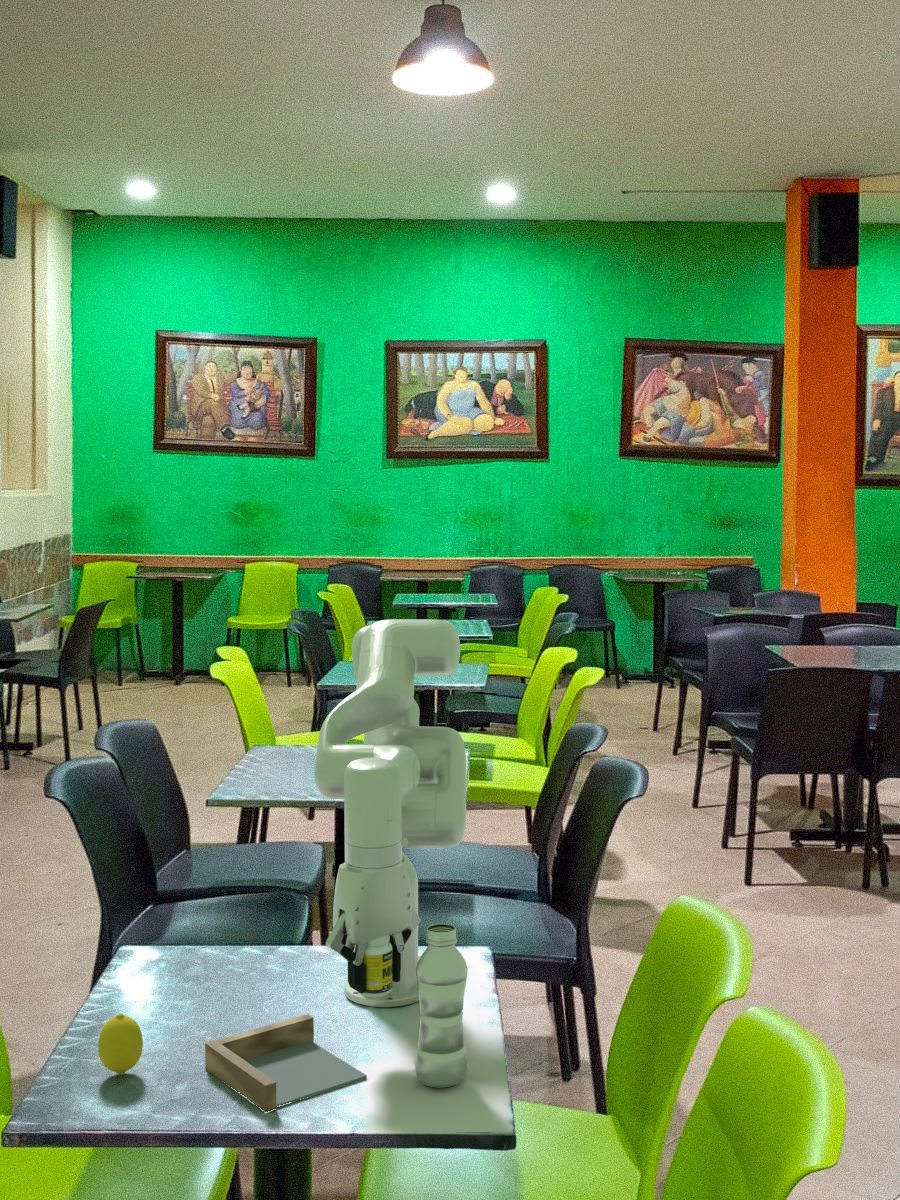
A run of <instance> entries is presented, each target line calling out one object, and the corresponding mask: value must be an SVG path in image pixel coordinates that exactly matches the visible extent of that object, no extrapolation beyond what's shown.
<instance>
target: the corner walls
mask: <svg viewBox="0 0 900 1200" xmlns="http://www.w3.org/2000/svg"><path fill="white" fill-rule="evenodd" d="M314 1022H315V1021H314V1017H313V1016H311V1015H310V1014H303V1015H300V1016H296V1017H292V1018H289V1019H286V1020H282V1021H279V1022H276V1023H271V1024H268V1025H263V1026H261V1027H258V1028H253V1029H250V1030H248V1031H247V1030H246V1031H244V1032H240V1033H236V1034H233V1035H229V1036H225V1037H223V1038H219V1039H215V1040H211V1041H208V1042H205V1043H204V1047H205V1048H204V1049H205V1052H204V1054H205V1055H204V1056H205V1066H204V1067H205V1071H207V1070H208V1071H209V1072H208V1071H207V1072H208V1073H210V1074H211V1073H212V1074H213V1075H212V1074H211V1075H212V1076H214V1075H215V1076H216V1077H217V1078H216V1077H215V1076H214V1077H215V1078H216V1079H218V1078H219V1079H220V1080H221V1082H222V1081H223V1082H225V1083H226V1084H227V1085H229V1086H230V1087H232V1088H233V1089H235V1090H236V1091H237V1092H240V1094H242V1095H244V1096H245V1097H247V1099H249V1100H250V1101H251V1102H253V1103H254V1104H255V1105H257V1106H258V1107H260V1108H261V1109H262V1110H264V1111H265V1112H268V1111H271V1110H273V1109H278V1108H277V1104H276V1082H275V1081H274V1080H272V1079H271V1078H269V1077H268V1076H267V1075H265V1074H264V1073H262V1072H261V1071H259V1070H258V1069H256V1068H255V1067H254V1066H252V1065H251V1064H249V1063H248V1062H246V1061H245V1060H248V1059H251V1058H254V1057H258V1056H261V1055H264V1054H268V1053H271V1052H274V1051H278V1050H281V1049H284V1048H288V1047H291V1046H295V1045H298V1044H301V1043H305V1042H308V1041H312V1042H314V1041H315V1038H314V1037H315V1036H314V1035H315V1034H314V1031H315V1029H314V1027H315V1026H314V1024H315V1023H314ZM314 1043H315V1042H314ZM219 1079H218V1080H219ZM220 1080H219V1081H220ZM223 1082H222V1083H223ZM225 1083H224V1084H225ZM226 1084H225V1085H226ZM227 1085H226V1086H227ZM229 1086H228V1087H229ZM230 1087H229V1088H230ZM233 1089H232V1090H233ZM237 1092H236V1093H237Z"/></svg>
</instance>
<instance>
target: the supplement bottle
mask: <svg viewBox="0 0 900 1200" xmlns="http://www.w3.org/2000/svg"><path fill="white" fill-rule="evenodd" d="M389 940H390V935H387V936H383V937H380V938H377V939H374V940H371V941H368V942H366V946H365V951H364V955H363V960H362V963H364V964H365V965H366V992H365V993H362V994H361V993H360V994H361V995H363V996H366V997H381V996H385V995H387V994H389V993H390V992H391V991H392V945H391V943H390V942H389Z"/></svg>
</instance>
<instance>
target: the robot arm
mask: <svg viewBox="0 0 900 1200" xmlns="http://www.w3.org/2000/svg"><path fill="white" fill-rule="evenodd" d="M351 658H352V659H351V660H352V668H353V673H354V677H355V680H356V681H355V682H356V688H355V690H354V691H353V692H352V693H350V694H349V695H348V696H346V697H344V699H342V700H341V701H340V702H339V703H338V704H337V705H336V706H335V707H333V708H332V710H331V711H330V712H329V713H328V715H327V716H326V718H325V719H324V721H323V722H322V724H321V727H320V730H319V735H318V740H317V746H316V753H315V760H314V773H313V774H314V781H315V786H316V789H317V790H318V792H319V793H320V794H321V795H322V796H323V797H324V798H327V799H330V800H344V801H343V802H344V803H343V806H344V807H343V811H344V812H343V813H344V818H343V819H344V862H342V863H341V864H339V867H338V871H337V876H336V880H335V885H334V893H333V895H334V896H333V908H332V909H333V910H332V911H333V912H332V927H333V928H332V930H331V932H330V934H328V935H329V936H328V937H327V939H326V941H325V946H326V947H327V948H330V949H331V950H332V951H335V952H336V953H338V954H339V955H341V957H342V958H343V959H344V960H346V961H347V980H346V982H345V983H344V987H343V988H344V989H343V990H344V995H345V996H346V998H348V999H349V1000H350V1001H351V1002H354V1003H355V1004H359V1005H362V1006H368V1007H375V1008H392V1007H393V1008H395V1007H402V1006H407V1005H410V1004H413V1003H417V1002H419V994H418V986H417V978H416V967H417V963H418V961H419V959H420V957H421V956H422V955H419V924H420V923H421V921H422V920H421V917H420V916H419V879H418V873H417V871H416V869H415V868H414V865H413V864H412V862H411V861H410V859H409V858H408V857H407V856H406V854H405V853H404V852H403V850H408V849H414V850H415V849H417V850H419V849H425V850H426V849H430V850H432V849H434V850H436V849H450V848H454V847H456V846H458V845H459V844H460V843H461V842H462V841H463V839H464V836H465V833H466V825H467V753H466V745H465V742H464V740H463V737H462V735H461V733H459V731H457V730H456V729H454V728H451V727H448V726H427V725H426V726H424V725H423V726H421V725H420V708H419V704H418V703H417V701H416V699H414V697H415V677H449V676H452V675H453V674H454V673H455V672H456V671H457V668H458V666H459V664H460V659H461V641H460V637H459V633H458V630H457V629H456V627H455V625H453V624H452V623H451V622H449V621H447V620H444V619H436V618H435V619H431V618H430V619H429V618H425V619H421V618H420V619H416V618H412V619H411V618H410V619H409V618H407V619H405V618H401V619H400V618H399V619H397V618H393V619H392V618H389V619H382V620H379V621H376V622H374V623H372V624H370V625H367V626H364V627H362V628H360V629H359V630H357V631H356V633H355V634H354V636H353V638H352V643H351ZM363 734H364V736H363V743H349V741H350V740H353V739H354V738H357V737H358V736H361V735H363ZM345 935H347V936H346V941H345V944H343V941H342V940H343V939H344V937H345ZM387 935H390V940H389V942H390V943H391V945H392V991H391V992H390V993H389V994H387V995H385V996H381V997H366V996H363V995H361V994H362V993H365V992H366V965H365V964H364V963H362V960H363V955H364V951H365V946H366V942H368V941H371V940H374V939H377V938H380V937H383V936H387ZM360 993H361V994H360Z"/></svg>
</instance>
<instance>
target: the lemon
mask: <svg viewBox="0 0 900 1200" xmlns="http://www.w3.org/2000/svg"><path fill="white" fill-rule="evenodd" d="M143 1039H144V1038H143V1034H142V1030H141V1027H140V1025H139V1024H138V1021H136V1020H135V1019H134V1018H133V1017H130V1016H128V1015H125V1014H123V1013H118V1014H116V1016H113V1017H112V1018H110V1019H108V1020H107V1021H106V1022H105V1023H104V1024H103V1025H102V1027H101V1030H100V1033H99V1037H98V1044H97V1045H98V1047H97V1048H98V1055H99V1060H100V1061H101V1062H102V1063H101V1064H103V1066H104V1067H105V1068H106V1069H107V1070H108V1071H111V1072H115V1073H116V1074H117V1075H119V1076H123V1075H124V1074H125V1073H126V1072H127V1071H129V1070H131V1069H133V1068H134V1067H135V1066H136V1065H137V1064H138V1062H139V1060H140V1059H141V1056H142V1053H143V1047H144V1042H143V1041H144V1040H143Z"/></svg>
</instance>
